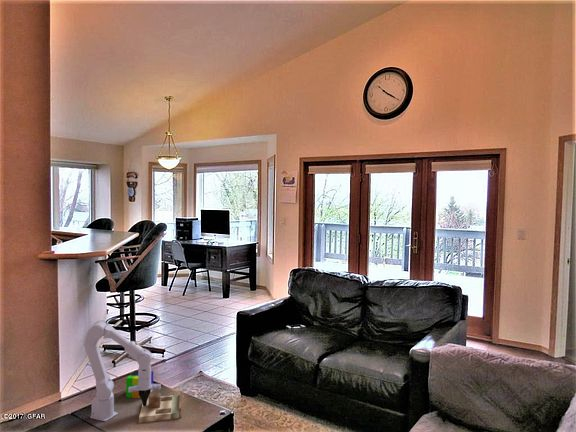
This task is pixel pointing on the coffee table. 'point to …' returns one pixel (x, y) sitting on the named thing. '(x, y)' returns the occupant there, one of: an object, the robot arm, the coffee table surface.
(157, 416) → the trap board
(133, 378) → the puzzle toy
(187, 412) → the coffee table surface
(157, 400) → the block
